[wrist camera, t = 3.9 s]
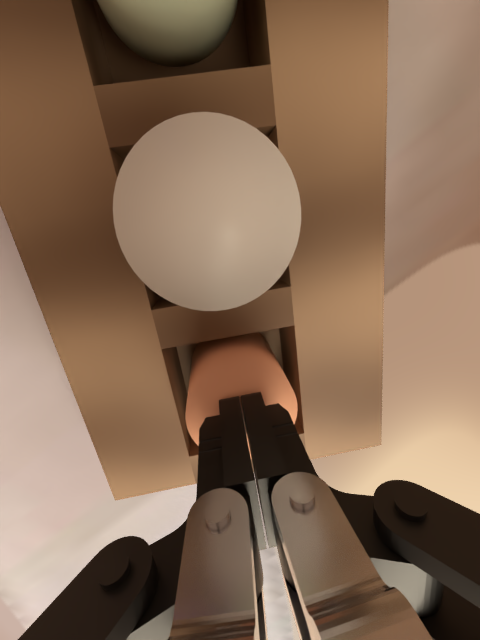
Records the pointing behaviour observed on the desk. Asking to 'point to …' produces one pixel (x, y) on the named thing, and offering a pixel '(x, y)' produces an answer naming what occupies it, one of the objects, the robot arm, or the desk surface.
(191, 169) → the cream white egg
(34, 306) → the desk surface
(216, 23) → the pale green piece
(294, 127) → the wooden egg rack
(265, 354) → the terracotta egg
